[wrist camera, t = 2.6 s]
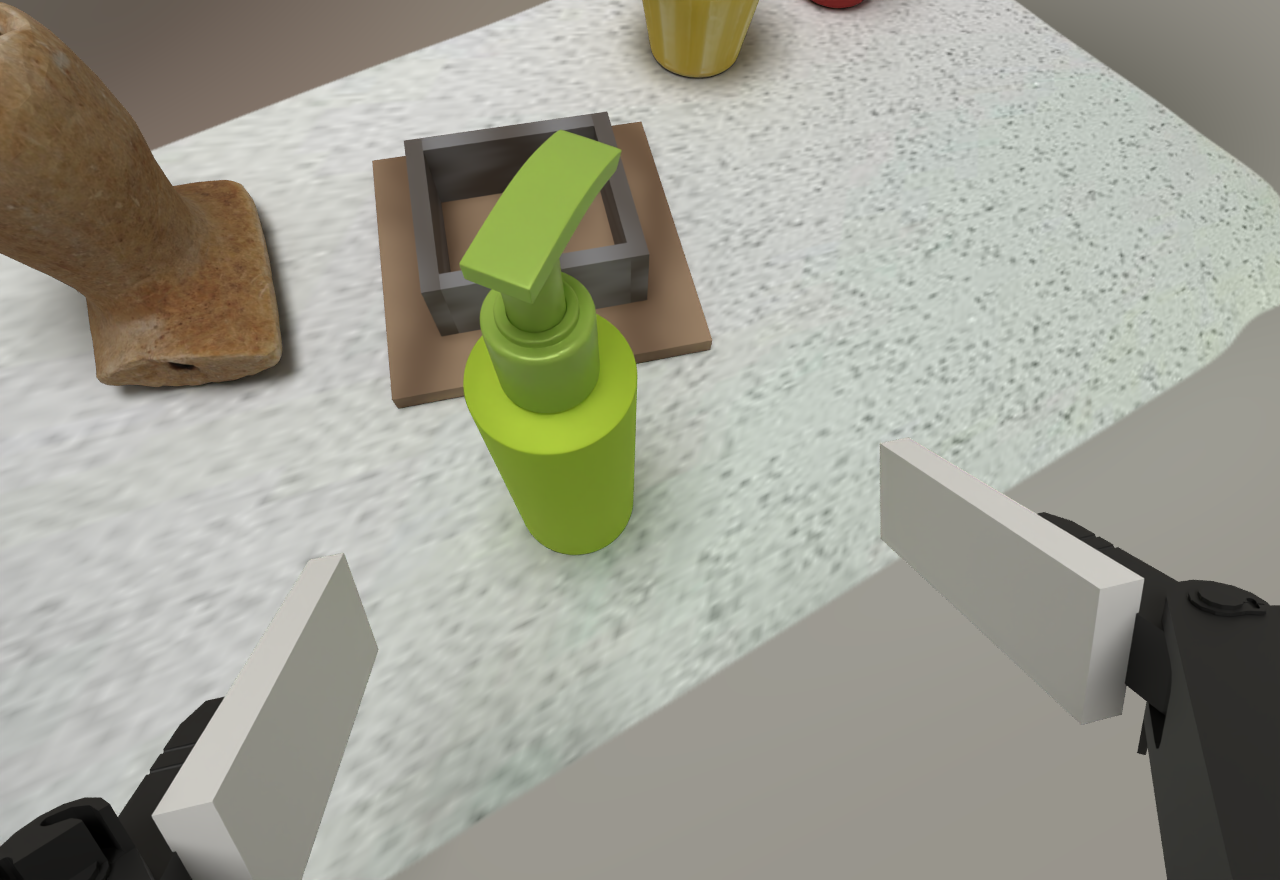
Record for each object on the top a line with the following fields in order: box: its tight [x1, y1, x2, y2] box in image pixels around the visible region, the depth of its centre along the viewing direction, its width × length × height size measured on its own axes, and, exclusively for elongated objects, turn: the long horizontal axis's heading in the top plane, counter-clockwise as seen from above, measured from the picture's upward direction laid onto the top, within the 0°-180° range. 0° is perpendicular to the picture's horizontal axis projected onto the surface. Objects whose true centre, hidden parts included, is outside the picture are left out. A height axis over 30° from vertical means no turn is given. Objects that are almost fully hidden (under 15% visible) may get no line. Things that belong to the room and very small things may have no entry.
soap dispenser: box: [459, 130, 637, 555], centre depth 25 cm, size 6×7×20 cm
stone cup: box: [0, 2, 282, 387], centre depth 31 cm, size 15×12×15 cm
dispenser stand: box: [372, 112, 712, 408], centre depth 38 cm, size 18×18×5 cm
